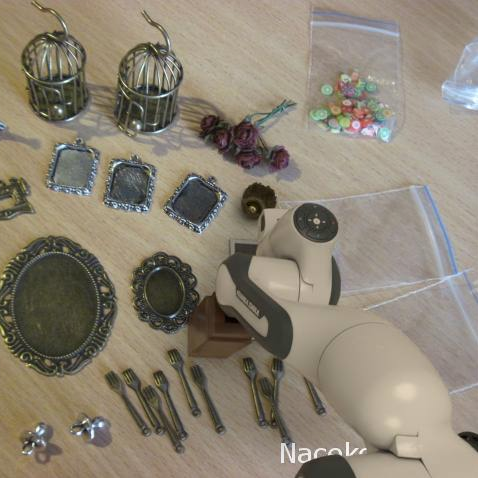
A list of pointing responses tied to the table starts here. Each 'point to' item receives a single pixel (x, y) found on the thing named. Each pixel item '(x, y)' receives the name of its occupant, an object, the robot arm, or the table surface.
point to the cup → (257, 200)
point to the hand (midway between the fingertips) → (260, 276)
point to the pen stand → (214, 331)
